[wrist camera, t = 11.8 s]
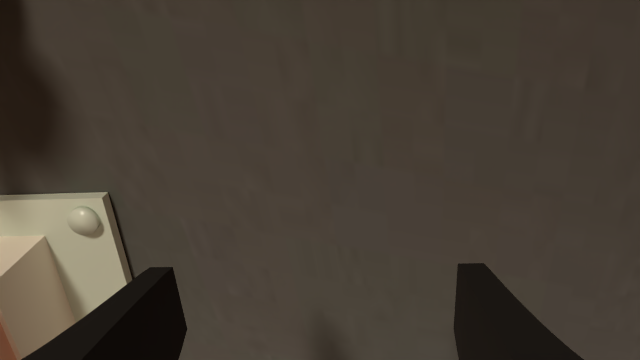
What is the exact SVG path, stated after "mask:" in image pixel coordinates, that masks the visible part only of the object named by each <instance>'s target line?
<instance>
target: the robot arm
mask: <svg viewBox="0 0 640 360" xmlns="http://www.w3.org/2000/svg"><path fill="white" fill-rule="evenodd" d="M186 331H187V326H186V322H185V317H184V313H183V309H182V305H181V301H180V296H179V292H178V288H177V284H176V279H175V275H174V271H173V267H150V268H149V269H147V270H146V271H144V272H143V273H141V274H140V275H138V276H137V277H136V278H134V279H133V280H132V281H130V282H129V283H128V284H127V285H125V286H124V287H123V288H121V289H120V290H119V291H118V292H116V293H115V294H114V295H112V296H111V297H110V298H108V299H107V300H106V301H104V302H103V303H102V304H101V305H99V306H98V307H97V308H95V309H94V310H93V311H91V312H90V313H89V314H87V315H86V316H85V317H83V318H82V319H80V320H79V321H78V322H76V323H75V324H73V325H72V326H71V327H69V328H68V329H66V330H65V331H63V332H62V333H61V334H59V335H58V336H56V337H55V338H54V339H52V340H51V341H49V342H48V343H46V344H45V345H43V346H42V347H40V348H39V349H37V350H35V351H34V352H32V353H31V354H29V355H28V356H26V357H24V358H23V359H21V360H178V359H179V356H180V353H181V349H182V346H183V342H184V338H185V335H186ZM454 333H455V339H456V345H457V351H458V357H459V360H584V359H582V358H581V357H580V356H578V355H577V354H576V353H575V352H573V351H572V350H571V349H570V348H569V347H567V346H566V345H565V344H564V343H563V342H562V341H561V340H559V339H558V338H557V337H556V336H555V335H554V334H553V333H551V332H550V331H549V330H548V329H547V328H546V327H545V326H544V325H543V324H542V323H541V322H540V321H539V320H538V319H537V318H536V317H535V316H534V315H533V314H532V313H531V312H529V311H528V310H527V309H526V308H525V307H524V306H523V305H522V304H521V303H520V301H519V300H518V299H517V298H516V297H515V296H514V295H513V294H512V293H511V292H510V291H509V290H508V289H507V288H506V287H505V286H504V285H503V283H502V282H501V281H500V280H499V279H498V278H497V277H496V276H495V275H494V274H493V273H492V271H491V270H490V269H489V268H488V267H487V266H486V265H485V264H484V263H474V264H458V271H457V286H456V302H455V317H454Z"/></svg>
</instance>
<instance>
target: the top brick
mask: <svg viewBox="0 0 640 360" xmlns="http://www.w3.org/2000/svg"><path fill="white" fill-rule="evenodd" d="M0 360H17V359H16V357H15V354H14V352H13V350H12V348H11V345H10V343H9V341H8V339H7V336H6V334H5V332H4V330H3V327H2V325H1V323H0Z"/></svg>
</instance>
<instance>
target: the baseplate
mask: <svg viewBox="0 0 640 360" xmlns="http://www.w3.org/2000/svg"><path fill="white" fill-rule="evenodd" d="M0 236H45V238H46V241H47V243H48V246H49V249H50V252H51V255H52V257H53V260H54V263H55V266H56V269H57V271H58V274H59V277H60V280H61V282H62V285H63V288H64V291H65V294H66V296H67V299H68V302H69V305H70V308H71V310H72V313H73V316H74V319H75V322H78V321H79V320H80V319H82V318H83V317H85V316H86V315H87V314H89V313H90V312H91V311H93V310H94V309H95V308H97V307H98V306H99V305H101V304H102V303H103V302H104V301H106V300H107V299H108V298H110V297H111V296H112V295H114V294H115V293H116V292H118V291H119V290H120V289H121V288H123V287H124V286H125V285H127V284H128V283H129V282H130V281H132V277H131V273H130V269H129V266H128V262H127V259H126V255H125V252H124V248H123V245H122V241H121V237H120V234H119V230H118V227H117V223H116V220H115V216H114V213H113V209H112V206H111V202H110V198H109V195H108V192H99V193H62V194H26V195H0Z"/></svg>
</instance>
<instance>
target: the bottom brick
mask: <svg viewBox="0 0 640 360" xmlns="http://www.w3.org/2000/svg"><path fill="white" fill-rule="evenodd" d="M0 323H1V325H2V327H3V330H4V332H5V334H6V336H7V339H8V341H9V343H10V345H11V348H12V350H13V352H14V354H15V357H16V359H17V360H21V359H23V358H24V357H26V356H28V355H29V354H31V353H32V352H34V351H35V350H37V349H39V348H40V347H42V346H43V345H45V344H46V343H48V342H49V341H51V340H52V339H54V338H55V337H56V336H58V335H59V334H61V333H62V332H63V331H65V330H66V329H68V328H69V327H71V326H72V325H73V324H75V323H76V322H75V319H74V316H73V313H72V310H71V308H70V305H69V302H68V299H67V296H66V294H65V291H64V288H63V285H62V282H61V280H60V277H59V274H58V271H57V269H56V266H55V263H54V260H53V257H52V255H51V252H50V249H49V246H48V243H47V241H46V238H45V236H0Z"/></svg>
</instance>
